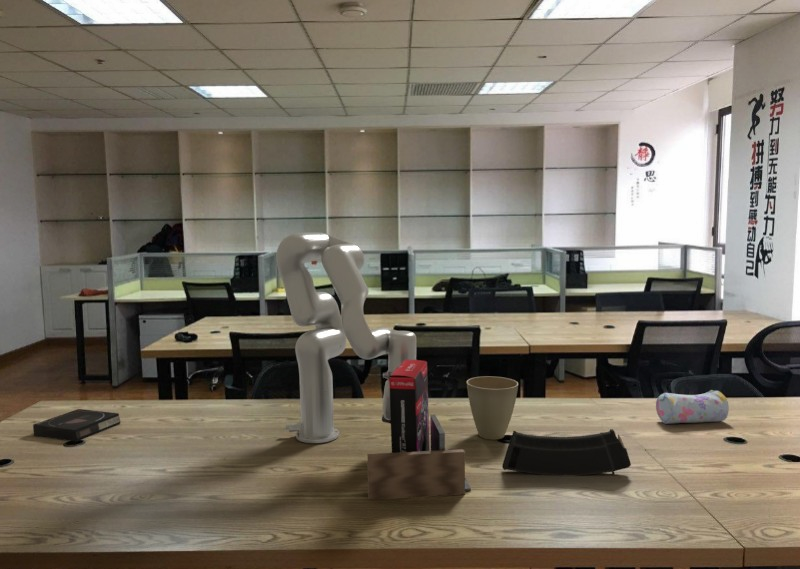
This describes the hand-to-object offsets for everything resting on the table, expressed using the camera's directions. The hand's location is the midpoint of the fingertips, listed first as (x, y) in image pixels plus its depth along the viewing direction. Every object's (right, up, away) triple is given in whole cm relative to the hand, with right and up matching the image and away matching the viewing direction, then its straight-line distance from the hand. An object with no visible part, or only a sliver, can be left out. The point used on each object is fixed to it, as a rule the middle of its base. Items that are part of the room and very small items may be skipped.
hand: (400, 442), depth 164 cm
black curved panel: (+41, -4, -16) cm, 44 cm away
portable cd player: (-100, -2, +21) cm, 102 cm away
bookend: (+12, -4, -19) cm, 23 cm away
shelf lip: (+4, -5, -28) cm, 28 cm away
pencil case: (+90, 0, +22) cm, 93 cm away
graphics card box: (+3, -4, -16) cm, 17 cm away
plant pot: (+27, -1, +11) cm, 29 cm away
